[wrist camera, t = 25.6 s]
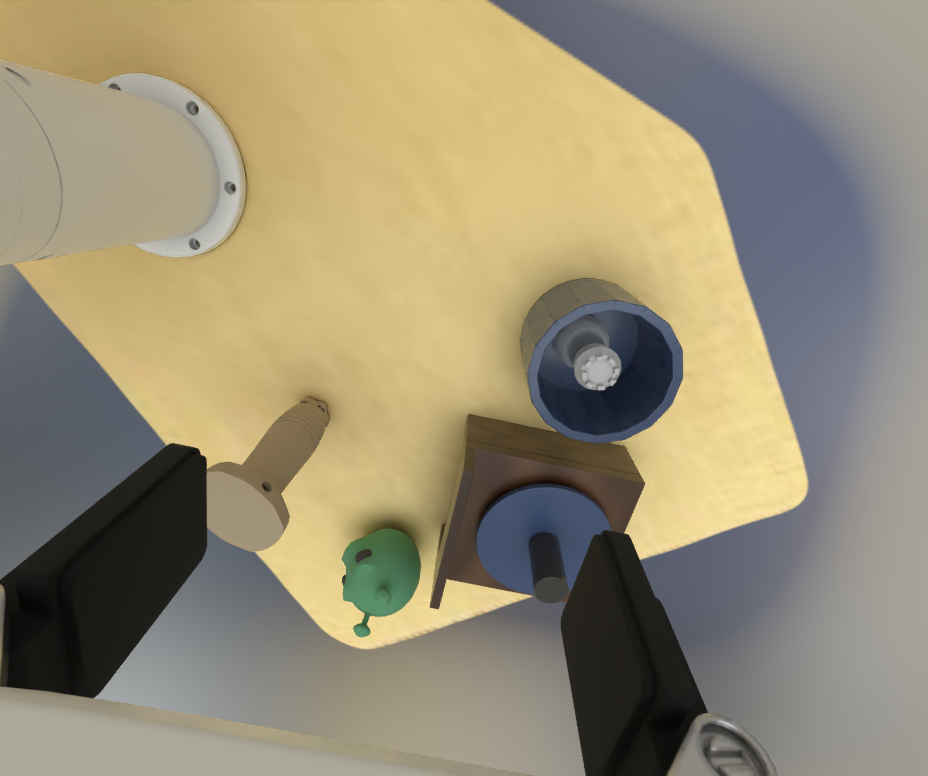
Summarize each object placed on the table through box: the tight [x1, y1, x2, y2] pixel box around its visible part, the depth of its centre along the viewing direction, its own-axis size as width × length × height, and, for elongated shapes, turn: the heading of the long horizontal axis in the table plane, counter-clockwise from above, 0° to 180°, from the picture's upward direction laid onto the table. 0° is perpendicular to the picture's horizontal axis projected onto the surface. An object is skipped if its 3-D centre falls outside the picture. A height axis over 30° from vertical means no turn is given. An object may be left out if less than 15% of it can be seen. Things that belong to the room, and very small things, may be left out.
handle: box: [207, 397, 330, 551], centre depth 37 cm, size 5×6×15 cm
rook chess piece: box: [554, 315, 621, 391], centre depth 36 cm, size 4×4×8 cm
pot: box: [520, 278, 683, 444], centre depth 37 cm, size 10×10×8 cm
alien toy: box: [342, 528, 421, 637], centre depth 45 cm, size 7×8×10 cm
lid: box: [476, 484, 611, 603], centre depth 38 cm, size 11×11×6 cm
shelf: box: [430, 414, 645, 609], centre depth 42 cm, size 15×14×10 cm
